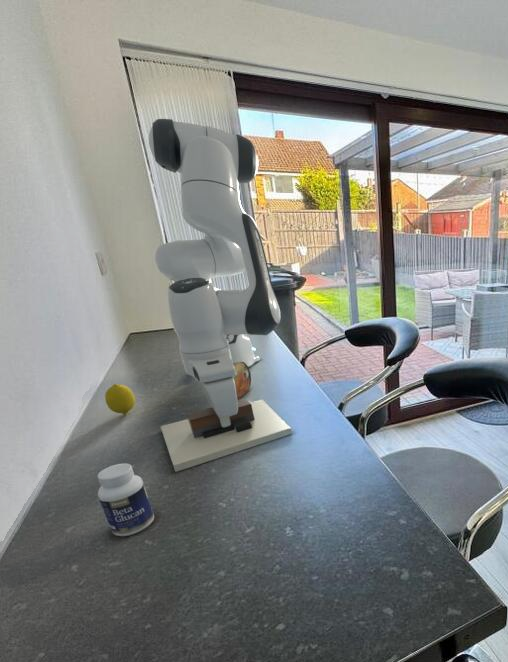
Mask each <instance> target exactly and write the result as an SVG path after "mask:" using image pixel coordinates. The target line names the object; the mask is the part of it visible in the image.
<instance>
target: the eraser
mask: <svg viewBox="0 0 508 662" xmlns="http://www.w3.org/2000/svg"><path fill="white" fill-rule="evenodd" d="M237 401H238V413H237V414H236V415H233V416H230V422H231V424H234V426H236V425H240V424H243V423H246V422H250V421H253V420H255V419H254V414H253V410H252V405H251V403H250V402H251V401H249V399H248V398H243V399H238V400H237ZM186 417H187V419H188V420H189V424H190V427H191V431H192V433H193V435H194V437H198V436H202V435H203V434H202V432H206V431H209V430H213V429H216V428H220V427H222V426H221V424H220V421H219V417H218V416H217V414H216V413H215V411H214V410H213V408H212V407H208V408H204V409H200V410H197V411H192V412H189V413H186Z"/></svg>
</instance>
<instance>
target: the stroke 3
mask: <svg viewBox="0 0 508 662" xmlns="http://www.w3.org/2000/svg"><path fill="white" fill-rule="evenodd" d="M235 428H236V431H237V432H241V431H244V430H248V429H251V428H252V425H251V423H250V422H249V423H246V424H242V425H239V426H235Z"/></svg>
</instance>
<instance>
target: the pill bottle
mask: <svg viewBox="0 0 508 662" xmlns="http://www.w3.org/2000/svg"><path fill="white" fill-rule="evenodd" d="M97 479H98V483H99V485H100V487H99V489H98V490H97V491H98V492H97V497H98V500H99V503H100V506H101V508H102V510H103V513H104V516H105V518H106V521H107V523H108V526H109V528H110V530H111V531H110V532H112V534H113V535H114V536H117V537H128V536H132V535H134V534H138V533H139V532H141V531H143V530H145V529H147V528H148V527H149V526H150V525H151V524H152V523H153V521H154V519H155V514H154V510H153V507H152V504H151V502H150V499H149V495H148V492H147V489H146V487H145V484H144V481H143V479H142V477H140V476H139V475H137V474H135V472H134V469H133V466H132V465H131V464H130V463H125V462H124V463H116V464H113V465H110V466H108V467H105V468H103V469H102V470H101V471H100V472H98V474H97Z"/></svg>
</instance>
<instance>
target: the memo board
mask: <svg viewBox="0 0 508 662" xmlns="http://www.w3.org/2000/svg"><path fill="white" fill-rule="evenodd" d="M249 402H250V403H251V405H252V410H253V414H254V419H255V420H253V421H250V423H251V425H252V428H251V429H248V430H244V431H241V432H237V431H236V428H235V430H232V431H228V432H225V433H222V434H218V435H215V436H211V437H208V438H204V437H203V435H202V436H198V437H194V435H193V433H192V431H191V427H190V424H189V420H188V418H186V419H182V420H179V421H175V422H171V423H168V424H164V425H161V426H160V430H161V433H162V435H163V440H164V442H165V444H166V449H167V451H168V454H169V458H170V461H171V463H172V467H173V469H174V472H175V473H177V472H180V471H183V470H187V469H190V468H192V467H195V466H198V465H202V464H204V463H207V462H211V461H214V460H217V459H220V458H223V457H226V456H229V455H232V454H235V453H239V452H241V451H244V450H247V449H250V448H253V447H256V446H259V445H262V444H266V443H268V442H272V441H274V440H275V441H276V440H278V439H280V438H283V437H287V436H289V435H292V428H291V427H290V426H289V424H288V423H286V421H284V420H283V418H281V416H280V415H279V414H277V412H275V411H274V409H272V408H271V406H269V405H268V404H267V403H266V401H264V399H263V398H262V399H258V400H254V401H249ZM246 423H249V422H246ZM246 423H243V424H246ZM240 425H242V424H240ZM236 426H239V425H236Z"/></svg>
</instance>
